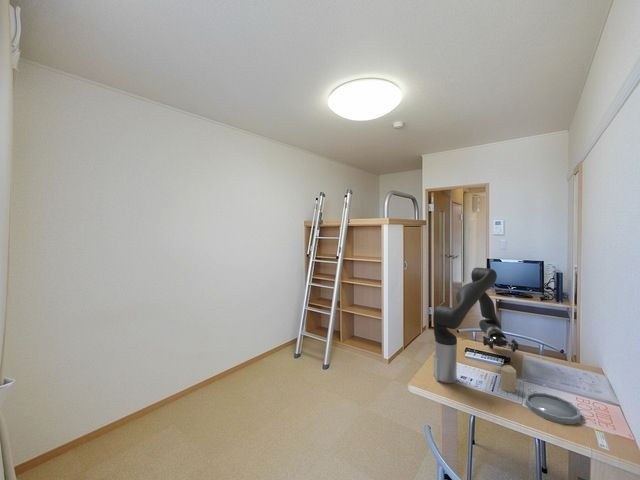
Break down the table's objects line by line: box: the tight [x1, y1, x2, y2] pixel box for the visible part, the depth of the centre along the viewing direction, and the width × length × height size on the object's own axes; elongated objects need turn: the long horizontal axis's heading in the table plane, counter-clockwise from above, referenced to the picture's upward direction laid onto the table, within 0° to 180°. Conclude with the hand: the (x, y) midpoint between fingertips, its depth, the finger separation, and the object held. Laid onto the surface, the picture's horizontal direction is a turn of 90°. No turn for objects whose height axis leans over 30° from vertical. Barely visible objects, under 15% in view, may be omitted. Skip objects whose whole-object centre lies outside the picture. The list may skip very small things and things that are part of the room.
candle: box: [500, 364, 517, 393], centre depth 122 cm, size 6×6×10 cm
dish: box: [524, 391, 582, 425], centre depth 108 cm, size 16×16×2 cm
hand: (503, 348), depth 132 cm, fingers open, 8 cm apart
